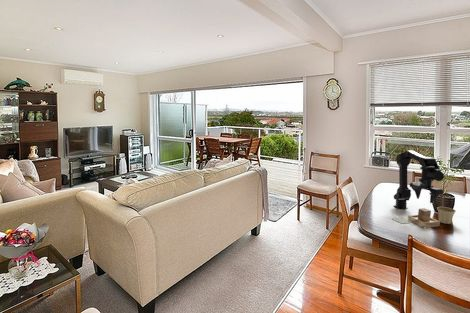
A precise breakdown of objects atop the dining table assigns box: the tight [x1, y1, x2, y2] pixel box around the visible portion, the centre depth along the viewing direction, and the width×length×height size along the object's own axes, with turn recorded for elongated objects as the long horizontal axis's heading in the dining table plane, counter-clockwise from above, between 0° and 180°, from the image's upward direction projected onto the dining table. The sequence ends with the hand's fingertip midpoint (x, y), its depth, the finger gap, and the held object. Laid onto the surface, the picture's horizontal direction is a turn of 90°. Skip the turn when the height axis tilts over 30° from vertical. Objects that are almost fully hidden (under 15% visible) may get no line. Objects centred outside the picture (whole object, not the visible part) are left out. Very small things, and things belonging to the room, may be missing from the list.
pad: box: [392, 217, 414, 225], centre depth 172 cm, size 8×8×1 cm
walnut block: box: [417, 207, 432, 222], centre depth 167 cm, size 4×4×7 cm
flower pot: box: [436, 206, 457, 225], centre depth 168 cm, size 9×9×9 cm
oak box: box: [407, 214, 441, 229], centre depth 168 cm, size 12×11×3 cm
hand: (424, 200), depth 169 cm, fingers open, 9 cm apart
